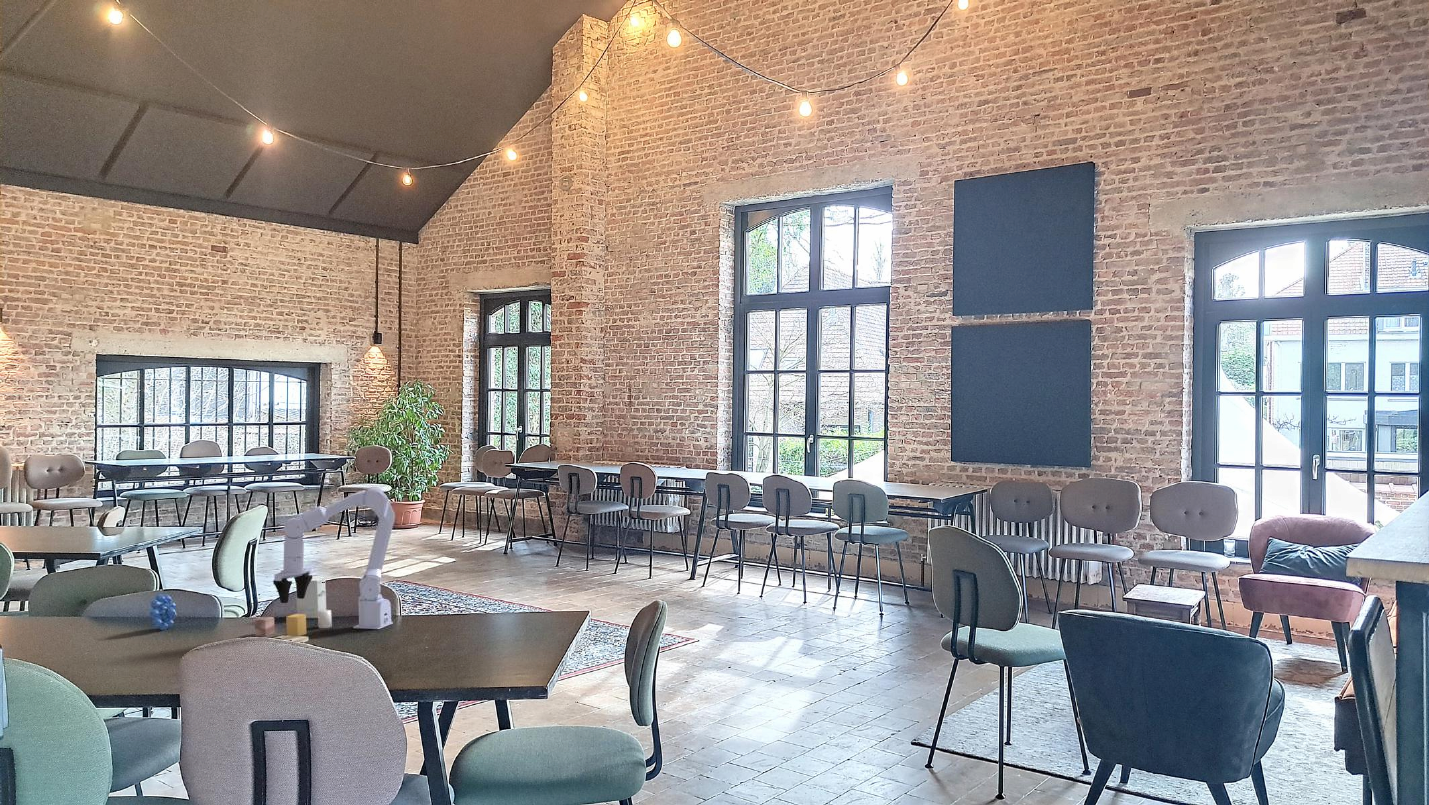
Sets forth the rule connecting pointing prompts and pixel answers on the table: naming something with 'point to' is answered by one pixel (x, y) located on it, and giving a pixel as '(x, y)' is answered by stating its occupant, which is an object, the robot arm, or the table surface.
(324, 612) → the grey cylinder
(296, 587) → the robot arm
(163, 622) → the grapes
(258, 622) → the rose block
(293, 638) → the ash board
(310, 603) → the supplement box
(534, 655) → the table surface
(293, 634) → the ochre block
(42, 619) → the table surface
